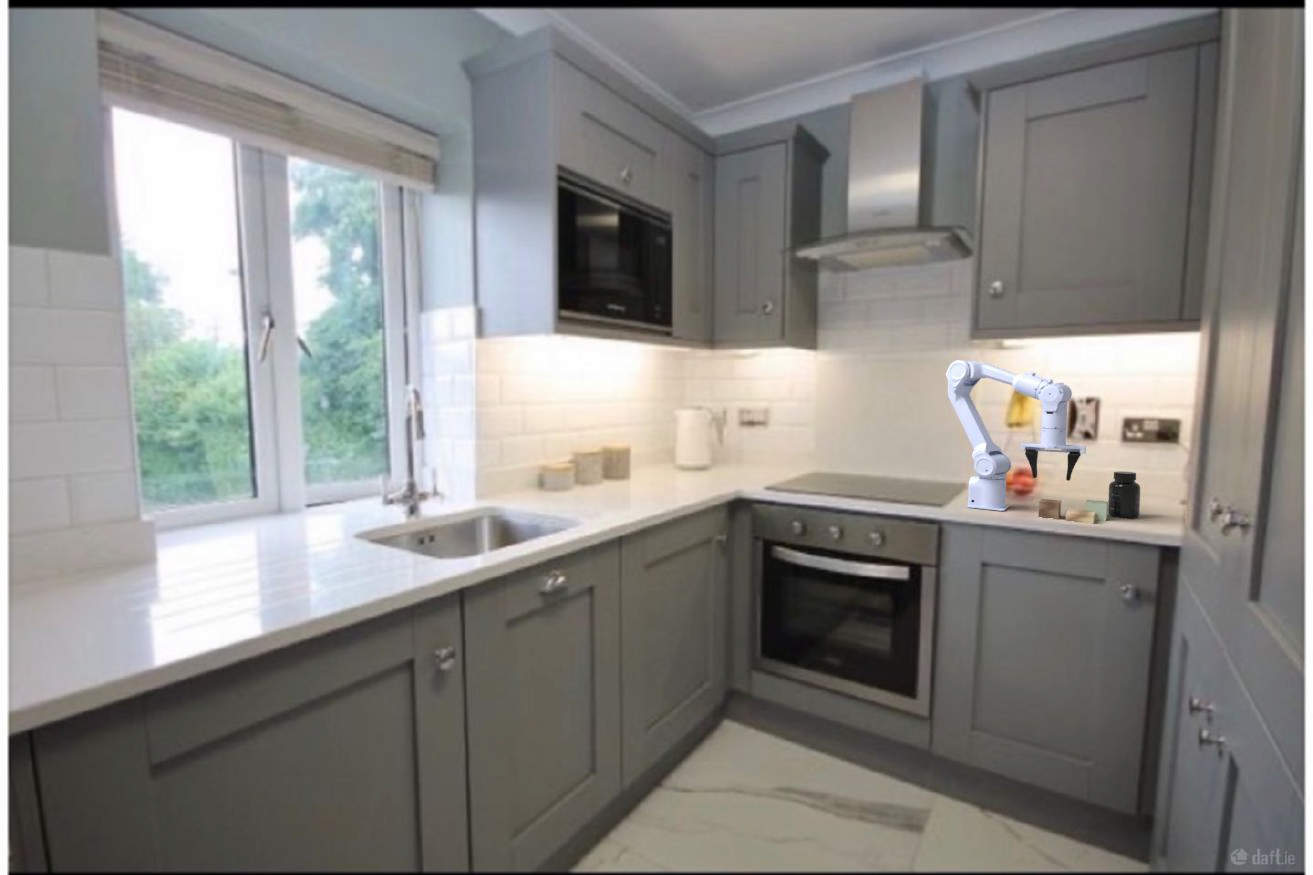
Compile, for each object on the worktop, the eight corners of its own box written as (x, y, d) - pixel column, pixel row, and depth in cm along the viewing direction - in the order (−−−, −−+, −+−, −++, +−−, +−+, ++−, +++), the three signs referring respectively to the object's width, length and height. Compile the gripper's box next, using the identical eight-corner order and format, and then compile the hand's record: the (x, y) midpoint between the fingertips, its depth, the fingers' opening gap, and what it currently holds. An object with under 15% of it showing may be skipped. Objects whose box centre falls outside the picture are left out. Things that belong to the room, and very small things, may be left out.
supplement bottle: (1125, 513, 173) (1127, 470, 172) (1145, 518, 166) (1148, 474, 165) (1101, 514, 173) (1103, 470, 172) (1120, 519, 166) (1123, 474, 165)
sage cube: (1085, 518, 167) (1086, 502, 167) (1086, 516, 171) (1087, 499, 170) (1105, 521, 164) (1106, 504, 164) (1107, 518, 168) (1108, 501, 167)
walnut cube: (1038, 517, 169) (1039, 501, 169) (1041, 514, 173) (1041, 498, 172) (1058, 519, 166) (1058, 503, 166) (1060, 516, 170) (1061, 500, 169)
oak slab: (1065, 522, 165) (1065, 512, 164) (1068, 518, 169) (1068, 509, 169) (1093, 525, 161) (1093, 515, 161) (1095, 521, 166) (1095, 511, 165)
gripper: (1019, 428, 169) (1017, 478, 170) (1084, 430, 160) (1082, 483, 161) (1024, 426, 174) (1022, 475, 176) (1087, 428, 165) (1085, 479, 166)
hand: (1051, 478), depth 169 cm, fingers open, 7 cm apart
